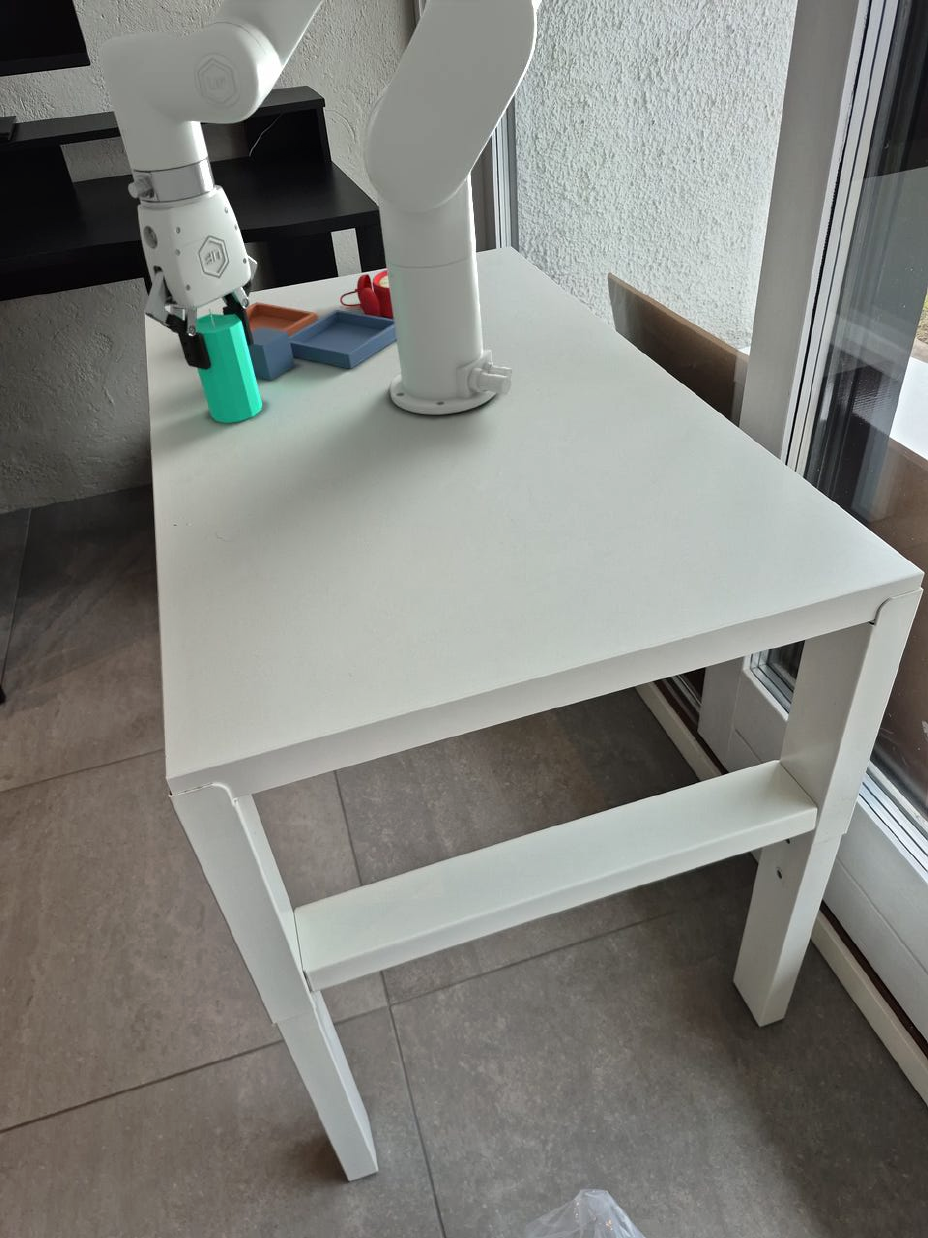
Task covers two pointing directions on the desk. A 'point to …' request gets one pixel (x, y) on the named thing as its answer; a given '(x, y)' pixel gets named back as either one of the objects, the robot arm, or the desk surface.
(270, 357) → the blue block
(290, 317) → the terracotta tray
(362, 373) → the desk surface
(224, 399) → the candle
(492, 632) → the desk surface
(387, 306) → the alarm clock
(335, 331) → the blue tray
